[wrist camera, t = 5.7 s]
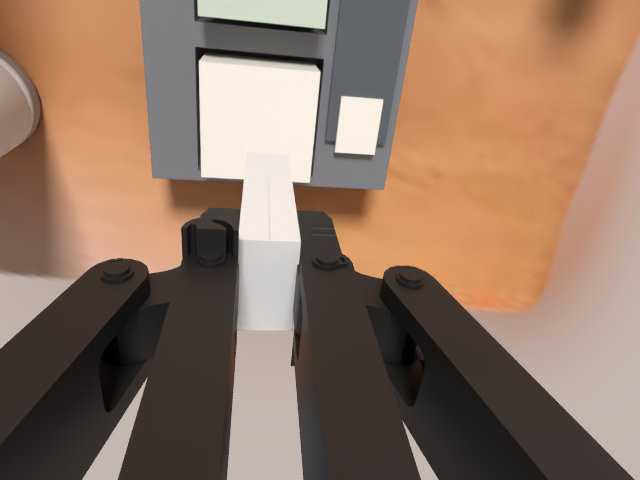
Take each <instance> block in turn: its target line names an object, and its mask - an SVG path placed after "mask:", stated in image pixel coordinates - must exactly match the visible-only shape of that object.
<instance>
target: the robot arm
mask: <svg viewBox="0 0 640 480" xmlns="http://www.w3.org/2000/svg"><path fill="white" fill-rule="evenodd" d="M181 233H182V256H183V259H182V262H181V266H179V267H177V268H174V269H172V270H168V271H164V272H158V273H152V274H149V271H148V268H147V266H146V265H145V264H143V263H142V262H140V261H137V260H133V259H123V258H118V259H111V260H107V261H104V262H101V263H99V264H96V265H95V266H93V267H92V268H90V269H89V270H88V271H87V272H85V273H84V274H83V275H82V276H81V277H80V278H79V279H78V280H77V281H75V282H74V283H73V284H72V285H71V286H70V287H69V288H68V289H67V290H65V291H64V292H63V293H62V294H61V295H60V296H59V297H58V298H57V299H55V300H54V301H53V302H52V303H51V304H50V305H49V306H48V307H47V308H45V309H44V310H43V311H42V312H41V313H40V314H39V315H38V316H36V317H35V318H34V319H33V320H32V321H31V322H30V323H29V324H28V325H26V326H25V327H24V328H23V329H22V330H21V331H20V332H19V333H18V334H16V335H15V336H14V337H13V338H12V339H11V340H10V341H9V342H7V343H6V344H5V345H4V346H3V347H2V348H1V349H0V480H82V479H83V477H84V475H85V474H86V472H87V471H88V469H89V468H90V466H91V465H92V463H93V461H94V460H95V458H96V457H97V455H98V454H99V452H100V450H101V449H102V447H103V446H104V444H105V443H106V441H107V440H108V438H109V436H110V435H111V433H112V431H113V430H114V428H115V427H116V425H117V424H118V422H119V421H120V419H121V418H122V416H123V414H124V413H125V411H126V410H127V408H128V407H129V405H130V404H131V402H132V400H133V399H134V397H135V396H136V394H137V392H138V391H139V389H140V388H141V386H142V385H143V383H144V382H145V380H146V378H147V377H148V379H147V382H146V385H145V389H144V392H143V396H142V399H141V402H140V406H139V409H138V413H137V416H136V420H135V423H134V427H133V430H132V434H131V437H130V440H129V443H128V447H127V451H126V454H125V457H124V461H123V464H122V468H121V471H120V474H119V478H118V480H227V469H228V455H229V440H230V426H231V413H232V399H233V385H234V372H235V357H236V344H237V330H249V331H259V330H260V331H293V323H294V338H293V348H292V360H291V366H295V376H296V388H297V401H298V415H299V428H300V440H301V453H302V466H303V479H304V480H421V478H420V475H419V472H418V469H417V466H416V463H415V459H414V456H413V453H412V450H411V447H410V444H409V440H408V437H407V434H406V431H405V428H404V425H403V422H404V423H405V425H406V426H407V428H408V430H409V431H410V433H411V435H412V436H413V438H414V440H415V441H416V443H417V445H418V446H419V448H420V450H421V451H422V453H423V455H424V456H425V458H426V459H427V461H428V463H429V464H430V466H431V468H432V469H433V471H434V473H435V474H436V476H437V478H438V479H439V480H634V479H633V478H632V477H631V476H630V475H629V474H628V473H627V472H626V471H625V470H624V469H623V468H622V467H621V466H620V465H619V464H618V463H617V462H616V461H615V460H614V459H613V458H612V457H611V456H610V455H609V454H608V453H607V452H606V451H605V450H604V449H603V448H602V447H601V445H600V444H598V443H597V441H596V440H595V439H593V437H592V436H591V435H590V434H589V433H588V432H587V431H586V430H584V429H583V428H582V426H581V425H580V424H579V423H578V422H577V421H576V420H575V419H574V418H573V417H572V416H571V415H570V414H569V413H568V412H567V411H566V410H565V409H564V408H563V407H562V406H561V405H560V404H559V403H558V402H557V401H556V400H555V399H554V398H553V397H552V396H551V395H550V394H549V393H548V392H547V391H546V390H545V389H544V388H543V387H542V386H541V385H540V384H539V383H538V382H537V381H536V380H535V379H534V378H533V377H532V376H531V375H530V374H529V373H528V372H527V371H526V370H525V369H524V368H523V367H522V366H521V365H520V364H519V363H518V362H517V361H516V360H515V359H514V358H513V357H512V356H511V355H510V354H509V353H508V352H507V351H506V350H505V349H504V348H503V347H502V346H501V345H500V344H499V343H498V342H497V341H496V340H495V339H494V338H493V337H492V336H491V335H490V334H489V333H488V332H487V331H486V330H485V329H484V328H483V327H482V326H481V325H480V324H479V323H478V322H477V321H476V320H475V319H474V318H473V317H472V316H471V315H470V314H469V313H468V312H467V311H466V310H465V309H464V308H463V307H462V306H461V305H460V304H459V303H458V302H457V301H456V300H455V299H454V297H453V296H452V295H451V294H450V293H449V292H448V291H447V290H446V289H445V288H444V287H443V286H442V285H441V284H440V283H439V282H438V281H437V280H436V279H435V278H434V277H432V276H431V275H430V274H428V273H427V272H425V271H423V270H421V269H418V268H416V267H411V266H395V267H391V268H389V269H387V270H386V271H385V272H384V276H383V279H380V278H375V277H370V276H367V275H363V274H360V273H358V272H356V271H355V270H354V266H353V263H352V262H351V260H350V259H349V258H348V257H346V256H345V255H343V254H342V253H341V249H340V246H339V242H338V239H337V236H336V232H335V229H334V225H333V222H332V219H331V218H330V217H328V216H327V215H326V214H325V213H324V212H313V211H296V204H295V197H294V191H293V184H292V177H291V170H290V163H289V156H288V155H278V154H262V153H247V155H246V165H245V175H244V185H243V194H242V204H241V209H224V208H209V209H208V210H206V211H205V212H204V213H203V214H201V217H200V218H197V219H193V220H191V221H189V222H187V223H185V224H184V225H183V226H182V228H181ZM402 420H403V422H402Z"/></svg>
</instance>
